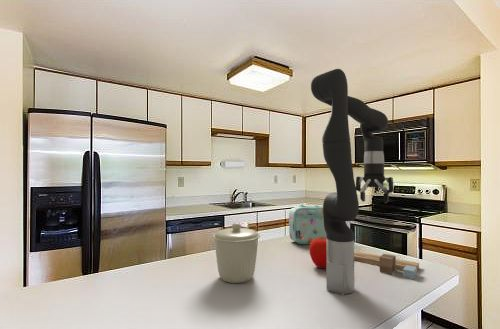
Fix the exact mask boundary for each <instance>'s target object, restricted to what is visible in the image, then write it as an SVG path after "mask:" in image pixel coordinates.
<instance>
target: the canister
mask: <svg viewBox="0 0 500 329" xmlns="http://www.w3.org/2000/svg"><path fill="white" fill-rule="evenodd" d="M260 237H261V234H260V233H259V232H257V231H256V230H253V229H252V228H249V229H247V228H241V225H240V224H239V222H234V223H232V224H231V227H228V228H224V229H220V230H218V231H216V232H215V233H213V235H212V238H213V239H214V246H215V254H216V255H215V257H216V263H217V264H216V265H217V270H218V275H219V277H220V279H221V280H222V281H224V282H226V283H230V284H231V283H232V284H242V283H246V282H249V280H251V279H252V278H253V277H254V274H255V270H256V264H257V255H258V254H257V253H258V244H259V239H260Z"/></svg>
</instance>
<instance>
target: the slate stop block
mask: <svg viewBox="0 0 500 329" xmlns="http://www.w3.org/2000/svg"><path fill="white" fill-rule="evenodd" d="M402 272H403V274H402V277H403V278H407V279H410V280H415V278H416V277H417V275H418V270H417V267H414V266H409V265H406V266H405V268H404V269H403V271H402Z"/></svg>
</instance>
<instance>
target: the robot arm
mask: <svg viewBox="0 0 500 329" xmlns="http://www.w3.org/2000/svg"><path fill="white" fill-rule="evenodd" d="M348 85H349V84H348V79H347V75H346V73H345V72H344V70H342V69H341V68H335V69H331V70H329V71H326V72H324V73H322V74H321V73H320V74H319V75H317V76H315V77H313V78H312V79H311V82H310V91H311V94H312V96H313V98H315V99H317V100H318V101H320V102H321V103H323V104H326V105H328V106H331V110H330V111H331V113H330V116H329V118H328V121H327V124H326V126H325V127H324V128H325V129H324V131H323V133H322V138H321V141H322V152H323V157H324V160H325V163H326V165H327V167H328V168H329V171H330V172H331V174H332V176H333V178H334V183H335V188H336V192H334V191H333V192H330V193H328V194H327V195H326V196H325V198H324V200H323V203H322V204H323V205H322V206H323V219H324V229H325V232H326V243H327V246H326V249H327V263H326V268H325V271H326V272H325V274H326V290H327V291H329V292H332V293H336V294H339V295H342V296H345V295H348V294H352V293H354V292H355V260H354V252H355V233H354V231H353V230H352V229H351V227H349V226H348V224H347V222H352V221H354V220H355V219H357V217H358V215H359V211H360V210H359V209H360V208H359V207H360V205H359V204H360V202H359V197H360V200H361V202H365V201H366V190H368V188H374V189H375V188H380V190H381V191H382V192H383V204H387V203H389V199H390V198H389V195H390V193H393V192H394V191H395V190H394V189H395V188H394V186H395V185H394V177H392V176H388V177H385V153H384V139H383V138H382V137H380V136H374V134H373V132H381V131H384V130H386V128H387V127H388V125H389V119H388V116H387V115H386V114H385V113H384V112H382V111H380V110H378V109H375V108H371V107H370V106H369V105H368V104H366V102H364V101H363V100H361V99H359V98H357V97H353V96H349V89H348V87H349V86H348ZM349 117H350V118H351V119H353V120H354V121H355V122H357V123H358V124H359V127H360V131H361V135H362V138H363V142H364V154H363V176H356V177H354V176H355V175H354V167H353V158H352V145H351V144H352V143H351V136H350V127H349ZM363 181H364V185H363V186H362V182H363ZM385 182H386V183H387V184H388V188H387V186H386V185H385V184H384V183H385ZM361 186H362V187H361ZM357 191H358V192H359V193H360V194H359V195H360V196H359V197H358V193H357Z"/></svg>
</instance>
